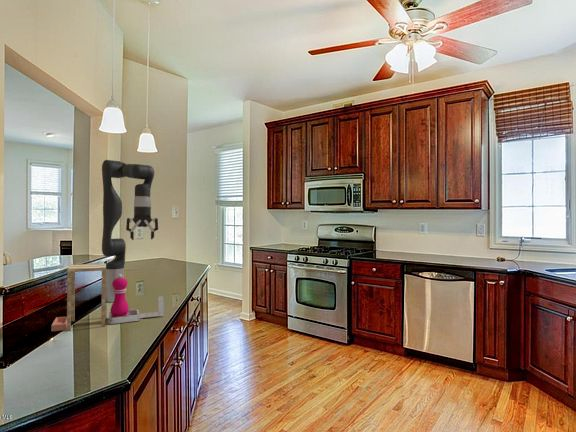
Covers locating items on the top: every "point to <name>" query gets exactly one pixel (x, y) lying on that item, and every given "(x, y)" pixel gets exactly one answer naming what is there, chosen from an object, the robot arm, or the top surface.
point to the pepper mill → (119, 297)
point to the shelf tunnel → (70, 289)
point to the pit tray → (59, 324)
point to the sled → (137, 314)
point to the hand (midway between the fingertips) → (142, 239)
